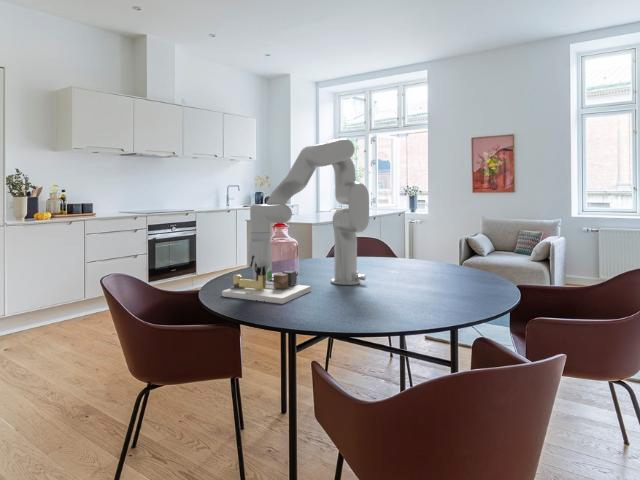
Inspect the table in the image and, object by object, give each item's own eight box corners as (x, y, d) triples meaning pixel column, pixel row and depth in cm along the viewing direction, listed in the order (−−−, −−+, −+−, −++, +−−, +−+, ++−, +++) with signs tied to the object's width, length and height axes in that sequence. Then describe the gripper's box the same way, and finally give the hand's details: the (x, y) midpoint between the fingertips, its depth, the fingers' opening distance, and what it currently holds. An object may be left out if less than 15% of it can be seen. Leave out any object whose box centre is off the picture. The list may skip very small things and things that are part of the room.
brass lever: (266, 288, 176) (266, 274, 175) (261, 290, 173) (261, 276, 172) (236, 285, 182) (236, 272, 181) (232, 286, 179) (231, 273, 178)
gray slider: (296, 283, 184) (296, 271, 184) (291, 285, 181) (291, 272, 180) (287, 282, 186) (287, 270, 186) (282, 284, 183) (282, 272, 182)
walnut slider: (288, 286, 179) (287, 273, 178) (282, 288, 175) (282, 275, 174) (279, 285, 180) (278, 273, 180) (273, 287, 177) (273, 274, 176)
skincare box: (266, 283, 198) (266, 246, 197) (252, 282, 200) (251, 246, 198) (272, 279, 206) (272, 244, 205) (258, 278, 208) (258, 243, 206)
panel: (310, 291, 183) (310, 285, 183) (282, 303, 163) (282, 297, 163) (252, 284, 195) (252, 279, 194) (220, 295, 175) (219, 289, 175)
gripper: (262, 234, 186) (263, 279, 188) (240, 238, 173) (241, 286, 175) (279, 235, 183) (279, 281, 185) (257, 239, 169) (258, 288, 172)
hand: (261, 284), depth 180 cm, fingers closed
